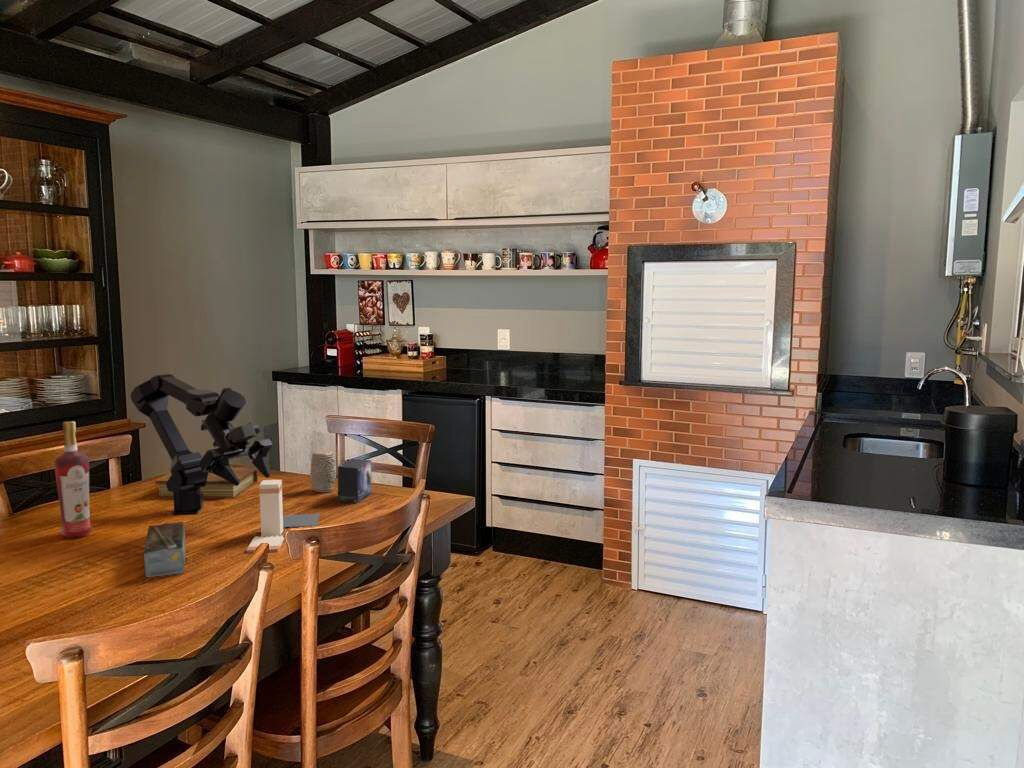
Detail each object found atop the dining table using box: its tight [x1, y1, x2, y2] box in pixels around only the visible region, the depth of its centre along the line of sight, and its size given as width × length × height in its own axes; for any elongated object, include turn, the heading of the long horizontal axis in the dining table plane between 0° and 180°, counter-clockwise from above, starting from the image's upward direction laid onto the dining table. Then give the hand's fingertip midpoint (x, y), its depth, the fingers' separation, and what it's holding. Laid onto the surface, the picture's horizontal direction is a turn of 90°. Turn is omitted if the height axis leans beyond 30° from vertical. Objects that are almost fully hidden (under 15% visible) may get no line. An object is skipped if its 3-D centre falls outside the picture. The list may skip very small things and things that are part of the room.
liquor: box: [53, 420, 93, 539], centre depth 184 cm, size 7×7×28 cm
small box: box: [337, 458, 372, 504], centre depth 220 cm, size 11×6×10 cm, turn 168°
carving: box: [309, 449, 337, 493], centre depth 227 cm, size 6×8×12 cm
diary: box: [154, 466, 259, 499], centre depth 228 cm, size 23×19×6 cm
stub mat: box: [283, 513, 321, 529], centre depth 198 cm, size 10×10×1 cm
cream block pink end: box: [245, 534, 285, 554], centre depth 180 cm, size 10×7×1 cm
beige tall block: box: [258, 479, 284, 536], centre depth 188 cm, size 5×5×13 cm
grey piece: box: [143, 521, 187, 578], centre depth 169 cm, size 8×19×7 cm, turn 22°
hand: (253, 480), depth 190 cm, fingers open, 9 cm apart
